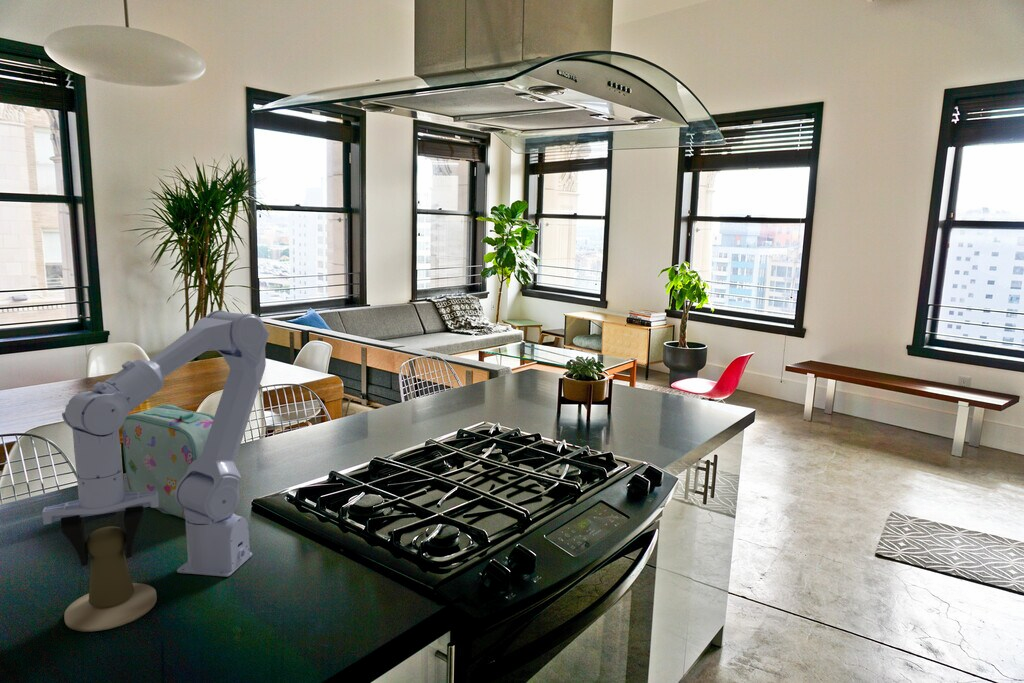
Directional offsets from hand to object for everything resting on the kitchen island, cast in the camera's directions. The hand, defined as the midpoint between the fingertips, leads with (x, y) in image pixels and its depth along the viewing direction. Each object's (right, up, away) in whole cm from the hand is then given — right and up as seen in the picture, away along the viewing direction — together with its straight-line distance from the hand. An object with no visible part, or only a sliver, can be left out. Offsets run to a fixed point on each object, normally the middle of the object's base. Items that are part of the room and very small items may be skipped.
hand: (107, 558), depth 99 cm
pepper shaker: (-1, -7, +2) cm, 7 cm away
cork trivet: (0, -8, +1) cm, 8 cm away
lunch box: (-8, -2, +39) cm, 40 cm away
